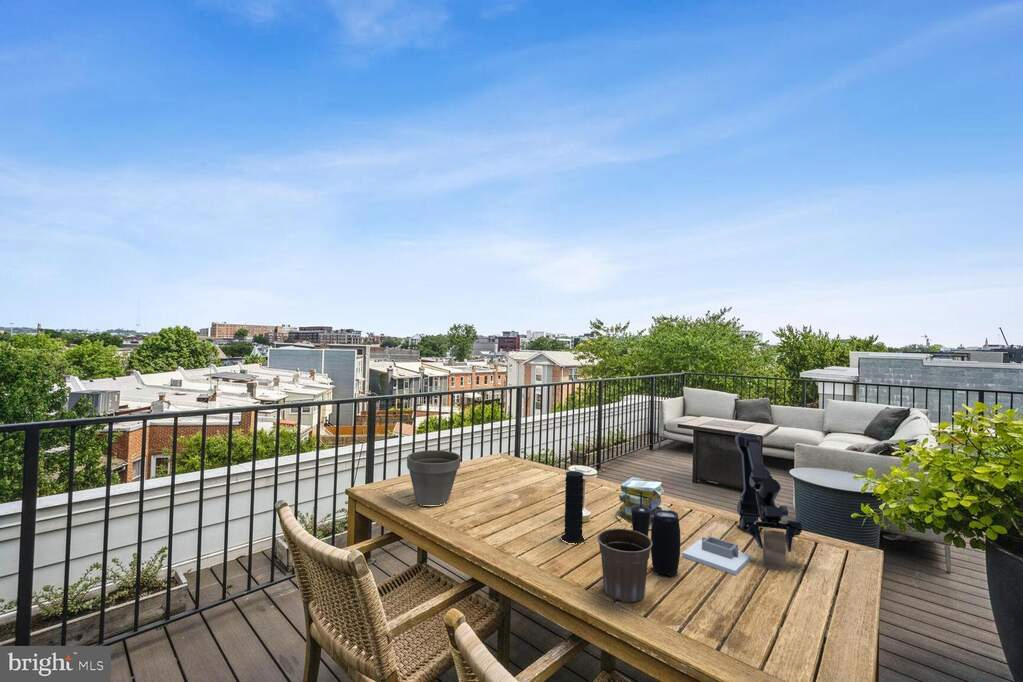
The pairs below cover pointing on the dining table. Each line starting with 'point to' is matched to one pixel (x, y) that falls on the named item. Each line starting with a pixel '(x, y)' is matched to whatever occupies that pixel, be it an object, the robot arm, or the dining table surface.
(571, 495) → the handle grip
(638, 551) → the plant pot
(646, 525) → the drinking cup
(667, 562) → the portable speaker
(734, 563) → the white base with frame
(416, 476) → the plant pot
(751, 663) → the dining table surface
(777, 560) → the wooden rectangular pillar
